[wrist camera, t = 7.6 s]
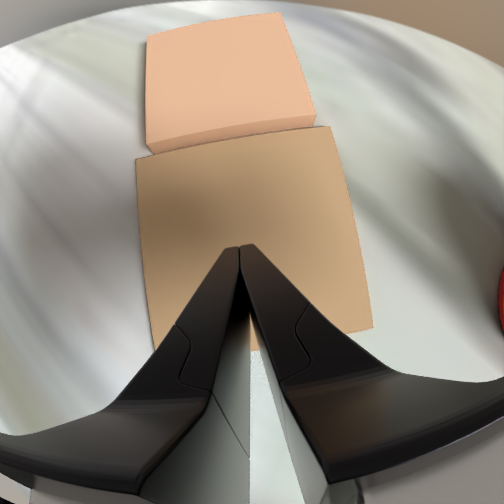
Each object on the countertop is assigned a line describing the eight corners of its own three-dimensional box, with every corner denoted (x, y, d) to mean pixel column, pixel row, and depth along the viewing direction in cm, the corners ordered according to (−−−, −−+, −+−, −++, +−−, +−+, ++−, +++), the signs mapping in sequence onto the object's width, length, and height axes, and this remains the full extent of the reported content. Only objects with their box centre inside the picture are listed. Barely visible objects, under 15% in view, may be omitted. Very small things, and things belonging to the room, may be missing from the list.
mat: (371, 327, 16) (373, 327, 16) (159, 360, 17) (157, 361, 16) (328, 129, 18) (330, 126, 18) (138, 161, 18) (136, 159, 18)
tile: (316, 114, 17) (280, 12, 18) (146, 144, 17) (147, 36, 18) (311, 130, 19) (279, 29, 20) (156, 157, 19) (154, 52, 20)
